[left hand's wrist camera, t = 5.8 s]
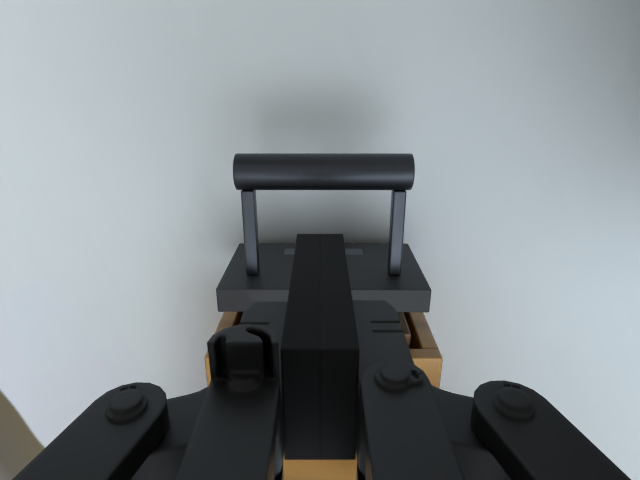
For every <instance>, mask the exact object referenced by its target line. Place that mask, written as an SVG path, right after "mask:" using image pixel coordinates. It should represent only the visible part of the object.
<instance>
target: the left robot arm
mask: <svg viewBox="0 0 640 480" xmlns="http://www.w3.org/2000/svg"><path fill="white" fill-rule="evenodd" d="M207 346H208V356H209V366H210V375H211V381H210V384H209V387H207V388H205V389H203V390H201V391H199V392H195V393H192V394H189V395H185V396H180V397H176V398H171V399H166V393H165V392H164V391H163V390H162V389H161V387H159V386H157V385H154V384H151V383H132V384H127V385H122V386H119V387H117V388H115V389H113V390H110V391H108V392H106V393H105V394H104V395H102V396H101V397H99V398H98V399H97V400H95V401H94V402H93V403H92V404H91V405H90V406H89V407H88V408H87V409H86V410H85V411H84V412H83V413H82V414H81V415H80V416H78V417H77V418H76V419H75V420H74V421H73V422H72V423H71V424H70V425H69V426H68V427H67V428H66V429H65V430H64V431H63V432H62V433H61V434H60V435H59V436H57V437H56V438H55V439H54V440H53V441H52V442H51V443H50V444H49V445H48V446H47V447H46V448H45V449H44V450H43V451H42V452H41V453H40V454H39V455H38V456H37V457H36V458H34V459H33V460H32V461H31V462H30V463H29V464H28V465H27V466H26V467H25V468H24V469H23V470H22V471H21V472H20V473H19V474H18V475H17V476H16V477H14V478H13V479H12V480H284V474H283V459H284V460H356V457H357V474H356V480H631V479H630V478H629V477H628V476H627V475H626V474H624V473H623V472H622V471H621V470H620V469H619V468H618V467H617V466H616V465H615V464H614V463H613V462H612V461H611V460H610V459H609V458H608V457H606V456H605V455H604V454H603V453H602V452H601V451H600V450H599V449H598V448H597V447H596V446H595V445H594V444H593V443H592V442H591V441H590V440H589V439H587V438H586V437H585V436H584V435H583V434H582V433H581V432H580V431H579V430H578V429H577V428H576V427H575V426H574V425H573V424H572V423H571V422H569V421H568V420H567V419H566V418H565V417H564V416H563V415H562V414H561V413H560V412H559V411H558V410H557V409H556V408H555V407H554V406H553V405H551V404H550V403H549V402H548V401H547V400H546V399H545V398H544V397H542V396H541V395H540V394H538V393H537V392H535V391H534V390H532V389H530V388H528V387H525V386H523V385H521V384H518V383H513V382H508V381H489V382H487V383H484V384H481V385H480V386H479V387H478V388H477V389H476V390H475V392H474V398H472V397H468V396H463V395H459V394H454V393H451V392H447V391H444V390H441V389H439V388H437V387H435V386H433V385H431V383H430V380H429V378H428V377H427V375H426V374H425V372H424V371H423V370H421V369H420V368H419V367H417V366H416V365H414V362H413V359H412V356H411V353H410V350H409V347H408V344H407V341H406V338H405V335H404V333H403V329H402V326H401V323H400V319H399V316H398V313H397V310H396V309H395V308H394V307H392V306H391V305H390V304H389V303H388V302H387V301H386V300H352V294H351V288H350V281H349V274H348V267H347V260H346V253H345V247H344V240H343V234H297V240H296V247H295V253H294V260H293V267H292V274H291V281H290V288H289V294H288V301H287V302H254V303H253V304H251V305H250V306H249V307H248V308H247V309H246V310H245V311H244V312H243V315H242V318H241V321H240V325H235V326H231V327H228V328H225V329H222V330H221V331H219V332H217V333H216V334H214V335H213V336H212V337H211V338H210V340H209V341H208V342H207Z"/></svg>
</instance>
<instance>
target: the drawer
mask: <svg viewBox="0 0 640 480" xmlns="http://www.w3.org/2000/svg"><path fill="white" fill-rule="evenodd" d="M414 173H415V165H414V158H413V155H412V154H235V157H234V161H233V178H234V184H235V187H236V189H237V190H242V191H241V198H242V214H243V229H244V244H239V246H238V248H237V250H236V252H235V254H234V256H233V257H232V259H231V261H230V263H229V265H228V267H227V269H226V271H225V273H224V275H223V277H222V279H221V281H220V283H219V285H218V287H217V289H216V294H217V304H218V311H219V312H244V311H245V310H246V309H247V308H248V307H249V306H250V305H251V304H253V303H254V302H287V301H288V294H289V288H290V281H291V274H292V267H293V260H294V253H295V247H296V244H258V225H257V206H256V190H392V196H391V213H390V231H389V244H344V247H345V253H346V260H347V267H348V274H349V281H350V288H351V294H352V300H386V301H387V302H388V303H389V304H390V305H391V306H392V307H394V308H395V309H396V310H397V313H398V316H399V319H400V323H401V326H402V329H403V333H404V335H405V338H406V341H407V344H408V347H409V349H410V339H411V334H410V331H409V328H408V325H407V322H406V319H405V316H404V313H403V312H429V308H430V298H431V289H430V287H429V285H428V283H427V281H426V279H425V277H424V275H423V273H422V271H421V269H420V267H419V265H418V263H417V261H416V259H415V257H414V255H413V253H412V251H411V249H410V247H409V246H408V244H403V234H404V219H405V204H406V191H405V190H411V189H412V186H413V182H414Z"/></svg>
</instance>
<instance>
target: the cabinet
mask: <svg viewBox="0 0 640 480" xmlns="http://www.w3.org/2000/svg"><path fill="white" fill-rule="evenodd" d="M403 313H404V316H405V319H406V322H407V325H408V328H409V331H410V334H411V339H410V349H409V350H410V353H411V356H412V359H413V362H414V365H416V366H417V367H419V368H420V369H421V370H423V371H424V372H425V374H426V375H427V377H428V378H429V380H430V383H431V385H433V386H435V387H437V388H439V386H440V377H441V368H442V356H441V354H440V351H439V350H438V347H437V344H436V342H435V340H434V337H433V335H432V333H431V330H430V328H429V326H428V323H427V321H426V318H425V316H424V314H423V312H403ZM242 315H243V312H224V313H223V316H222V318H221V320H220V323H219V325H218V327H217V330H216V332H215V334H216V333H217V332H219V331H221V330H222V329H225V328H228V327H231V326H235V325H240V321H241V318H242ZM205 366H206V375H207V384H208V387H209V384H210V381H211V375H210V366H209V356H208V351H207V353H206V356H205ZM283 474H284V480H356V474H357V457H356V460H284V459H283Z"/></svg>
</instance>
